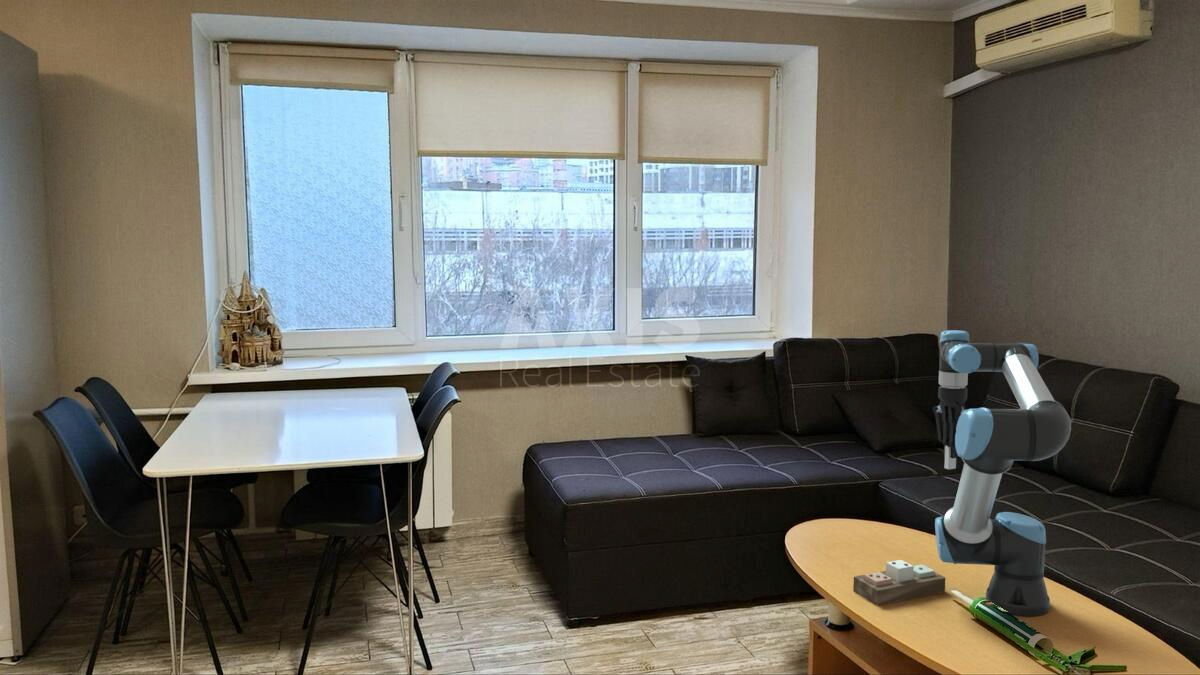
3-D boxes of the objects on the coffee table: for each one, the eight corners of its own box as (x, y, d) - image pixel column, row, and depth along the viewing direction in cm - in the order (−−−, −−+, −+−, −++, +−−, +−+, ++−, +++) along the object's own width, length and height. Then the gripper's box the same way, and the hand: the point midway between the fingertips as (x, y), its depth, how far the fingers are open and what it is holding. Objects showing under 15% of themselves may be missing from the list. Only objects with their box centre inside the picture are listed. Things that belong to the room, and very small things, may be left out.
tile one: (933, 588, 245) (934, 570, 245) (918, 591, 244) (919, 572, 243) (921, 581, 250) (921, 563, 249) (906, 584, 248) (907, 566, 248)
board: (944, 591, 244) (945, 577, 243) (876, 605, 236) (877, 590, 236) (919, 578, 253) (920, 564, 252) (853, 590, 245) (853, 576, 245)
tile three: (891, 596, 241) (891, 577, 240) (875, 599, 239) (876, 580, 238) (879, 589, 245) (879, 571, 245) (863, 592, 244) (864, 574, 243)
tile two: (913, 584, 243) (913, 565, 242) (897, 586, 241) (898, 568, 240) (900, 577, 247) (901, 558, 247) (885, 580, 246) (886, 561, 245)
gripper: (980, 388, 248) (977, 472, 251) (947, 381, 260) (944, 461, 263) (959, 391, 246) (956, 475, 249) (926, 383, 258) (923, 464, 261)
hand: (950, 468), depth 256 cm, fingers closed
